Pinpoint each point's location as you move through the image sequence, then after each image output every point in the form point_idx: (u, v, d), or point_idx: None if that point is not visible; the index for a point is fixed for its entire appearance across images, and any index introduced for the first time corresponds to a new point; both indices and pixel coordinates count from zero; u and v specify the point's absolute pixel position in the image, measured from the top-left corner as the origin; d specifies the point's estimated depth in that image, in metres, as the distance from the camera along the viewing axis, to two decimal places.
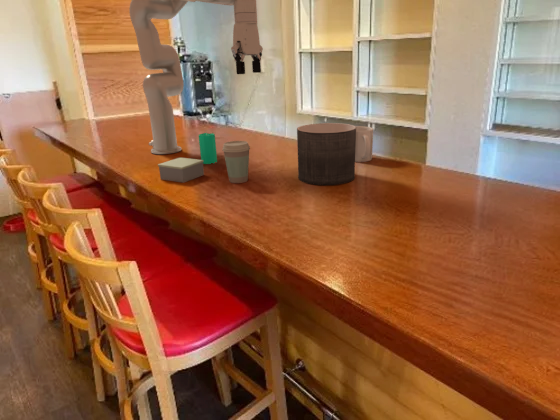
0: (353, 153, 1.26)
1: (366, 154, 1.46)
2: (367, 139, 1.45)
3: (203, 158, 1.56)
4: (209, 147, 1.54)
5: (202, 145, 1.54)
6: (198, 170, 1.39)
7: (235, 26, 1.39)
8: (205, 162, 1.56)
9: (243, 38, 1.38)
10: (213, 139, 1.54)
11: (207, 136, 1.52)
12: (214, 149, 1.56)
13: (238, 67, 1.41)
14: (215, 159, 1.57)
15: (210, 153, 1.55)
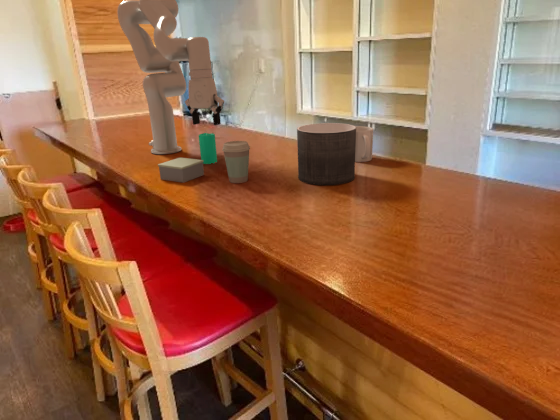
0: (353, 153, 1.26)
1: (366, 154, 1.46)
2: (367, 139, 1.45)
3: (203, 158, 1.56)
4: (209, 147, 1.54)
5: (202, 145, 1.54)
6: (198, 170, 1.39)
7: (209, 81, 1.45)
8: (205, 162, 1.56)
9: (216, 92, 1.49)
10: (213, 139, 1.54)
11: (207, 136, 1.52)
12: (214, 149, 1.56)
13: (218, 118, 1.49)
14: (215, 159, 1.57)
15: (210, 153, 1.55)
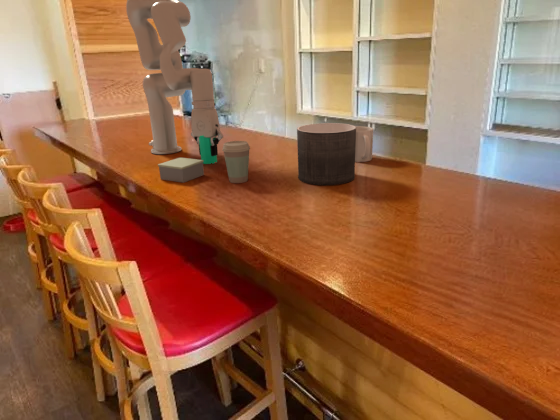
0: (353, 153, 1.26)
1: (366, 154, 1.46)
2: (367, 139, 1.45)
3: (203, 158, 1.56)
4: (209, 147, 1.54)
5: (202, 145, 1.54)
6: (198, 170, 1.39)
7: (212, 112, 1.49)
8: (205, 162, 1.56)
9: (218, 121, 1.53)
10: (213, 139, 1.54)
11: None
12: None
13: (215, 149, 1.55)
14: (215, 159, 1.57)
15: (210, 153, 1.55)
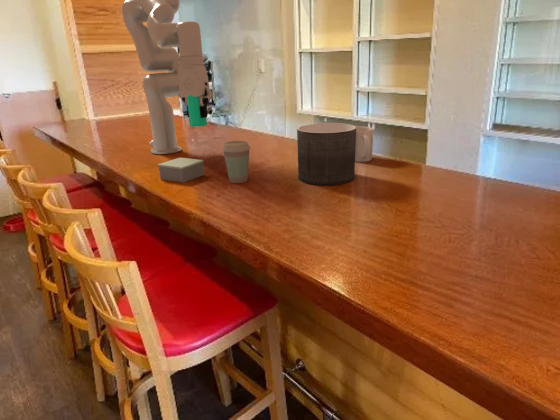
0: (353, 153, 1.26)
1: (366, 154, 1.46)
2: (367, 139, 1.45)
3: (192, 120, 1.45)
4: (199, 108, 1.44)
5: (191, 106, 1.43)
6: (198, 170, 1.39)
7: (201, 68, 1.39)
8: (194, 124, 1.45)
9: None
10: (203, 99, 1.44)
11: None
12: None
13: (205, 111, 1.44)
14: (205, 121, 1.46)
15: (199, 114, 1.44)
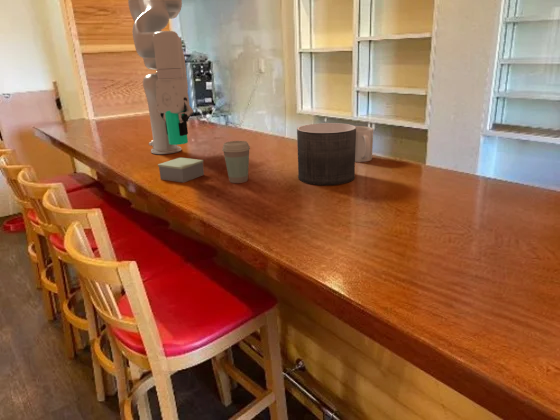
0: (353, 153, 1.26)
1: (366, 154, 1.46)
2: (367, 139, 1.45)
3: (170, 138, 1.33)
4: (178, 125, 1.31)
5: (169, 122, 1.31)
6: (198, 170, 1.39)
7: (179, 82, 1.26)
8: (173, 142, 1.33)
9: (187, 94, 1.30)
10: (182, 115, 1.32)
11: None
12: None
13: (185, 128, 1.32)
14: (185, 139, 1.34)
15: (178, 132, 1.32)
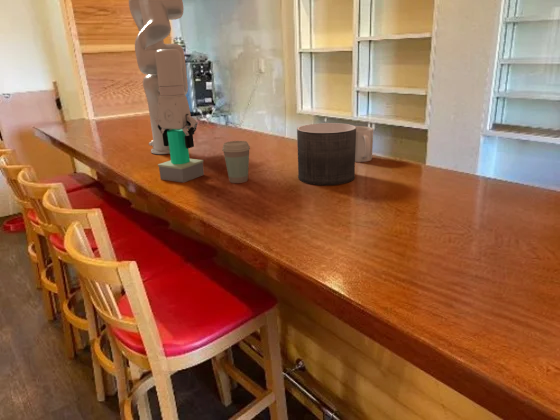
0: (353, 153, 1.26)
1: (366, 154, 1.46)
2: (367, 139, 1.45)
3: (173, 157, 1.36)
4: (180, 145, 1.34)
5: (171, 143, 1.34)
6: (198, 170, 1.39)
7: (181, 99, 1.28)
8: (175, 162, 1.36)
9: (189, 111, 1.32)
10: (184, 136, 1.34)
11: (176, 132, 1.32)
12: (185, 147, 1.36)
13: (191, 141, 1.33)
14: (187, 159, 1.37)
15: (181, 152, 1.35)
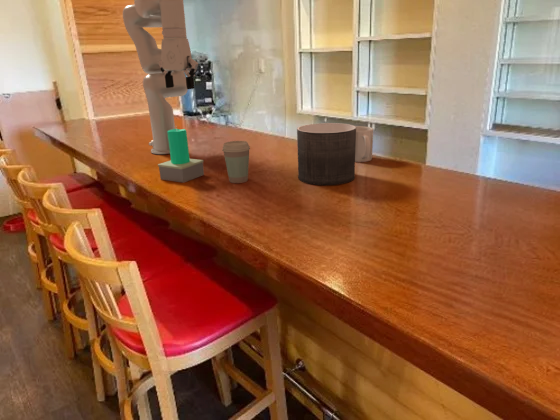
0: (353, 153, 1.26)
1: (366, 154, 1.46)
2: (367, 139, 1.45)
3: (173, 157, 1.36)
4: (180, 145, 1.34)
5: (171, 143, 1.34)
6: (198, 170, 1.39)
7: (183, 41, 1.36)
8: (175, 162, 1.36)
9: (190, 53, 1.40)
10: (184, 136, 1.34)
11: (177, 132, 1.32)
12: (185, 147, 1.36)
13: (191, 82, 1.41)
14: (187, 159, 1.37)
15: (181, 152, 1.35)
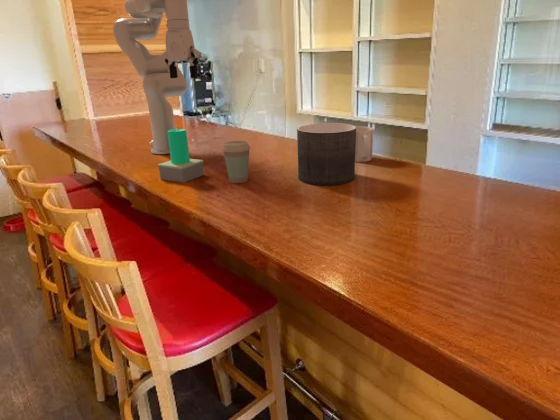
0: (353, 153, 1.26)
1: (366, 154, 1.46)
2: (367, 139, 1.45)
3: (173, 157, 1.36)
4: (180, 145, 1.34)
5: (171, 143, 1.34)
6: (198, 170, 1.39)
7: (186, 32, 1.44)
8: (175, 162, 1.36)
9: (193, 44, 1.47)
10: (184, 136, 1.34)
11: (177, 132, 1.32)
12: (185, 147, 1.36)
13: (195, 71, 1.48)
14: (187, 159, 1.37)
15: (181, 152, 1.35)
